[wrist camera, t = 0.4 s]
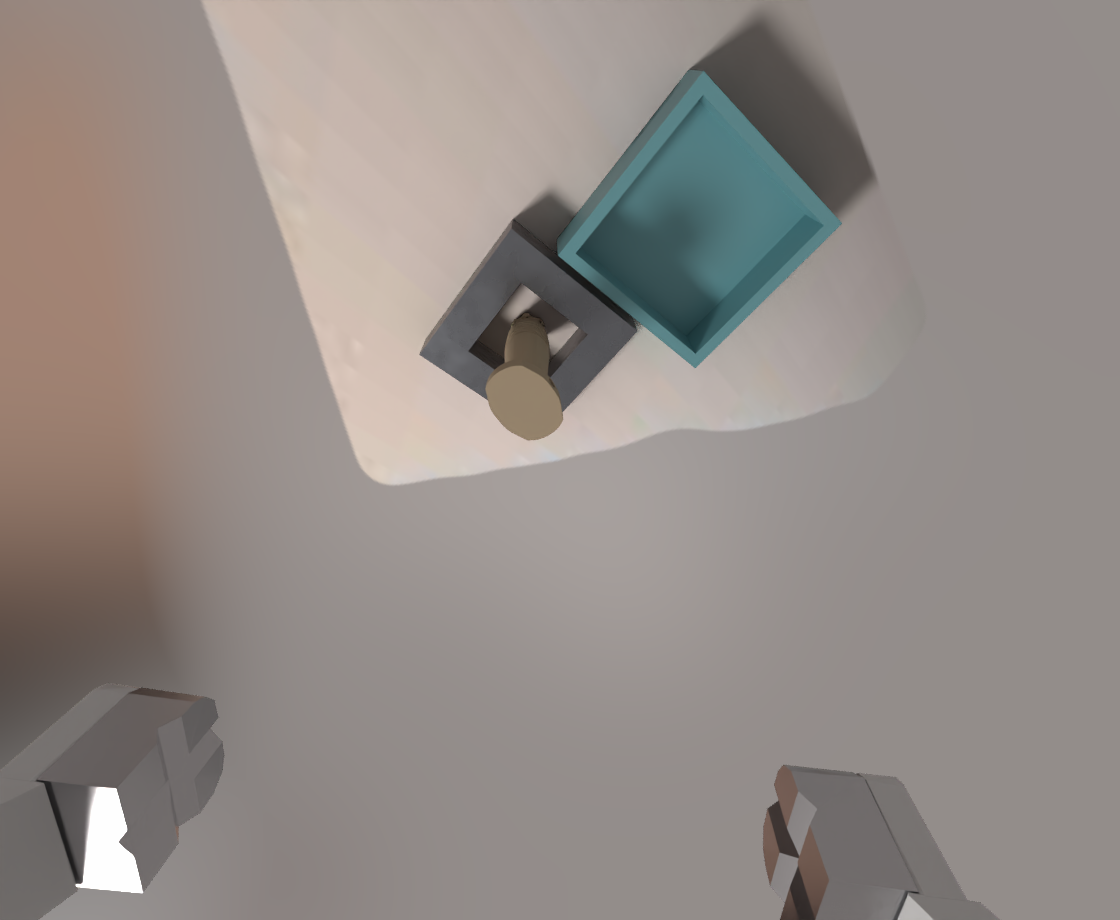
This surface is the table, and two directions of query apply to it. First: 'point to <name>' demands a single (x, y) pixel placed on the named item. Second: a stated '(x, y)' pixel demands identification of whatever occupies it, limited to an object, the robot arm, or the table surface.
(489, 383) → the handle
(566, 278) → the socket block
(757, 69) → the table surface
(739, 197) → the bin
